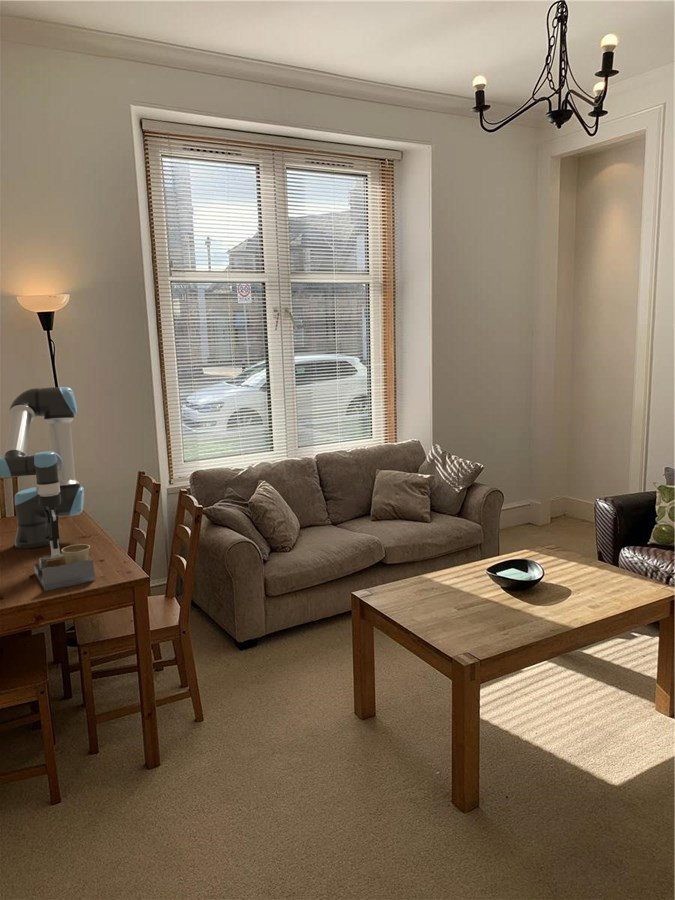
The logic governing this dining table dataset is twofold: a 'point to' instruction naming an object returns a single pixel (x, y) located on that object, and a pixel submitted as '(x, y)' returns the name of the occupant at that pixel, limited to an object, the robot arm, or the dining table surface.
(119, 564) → the dining table surface
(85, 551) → the flower pot
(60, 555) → the block
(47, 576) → the grey open box
